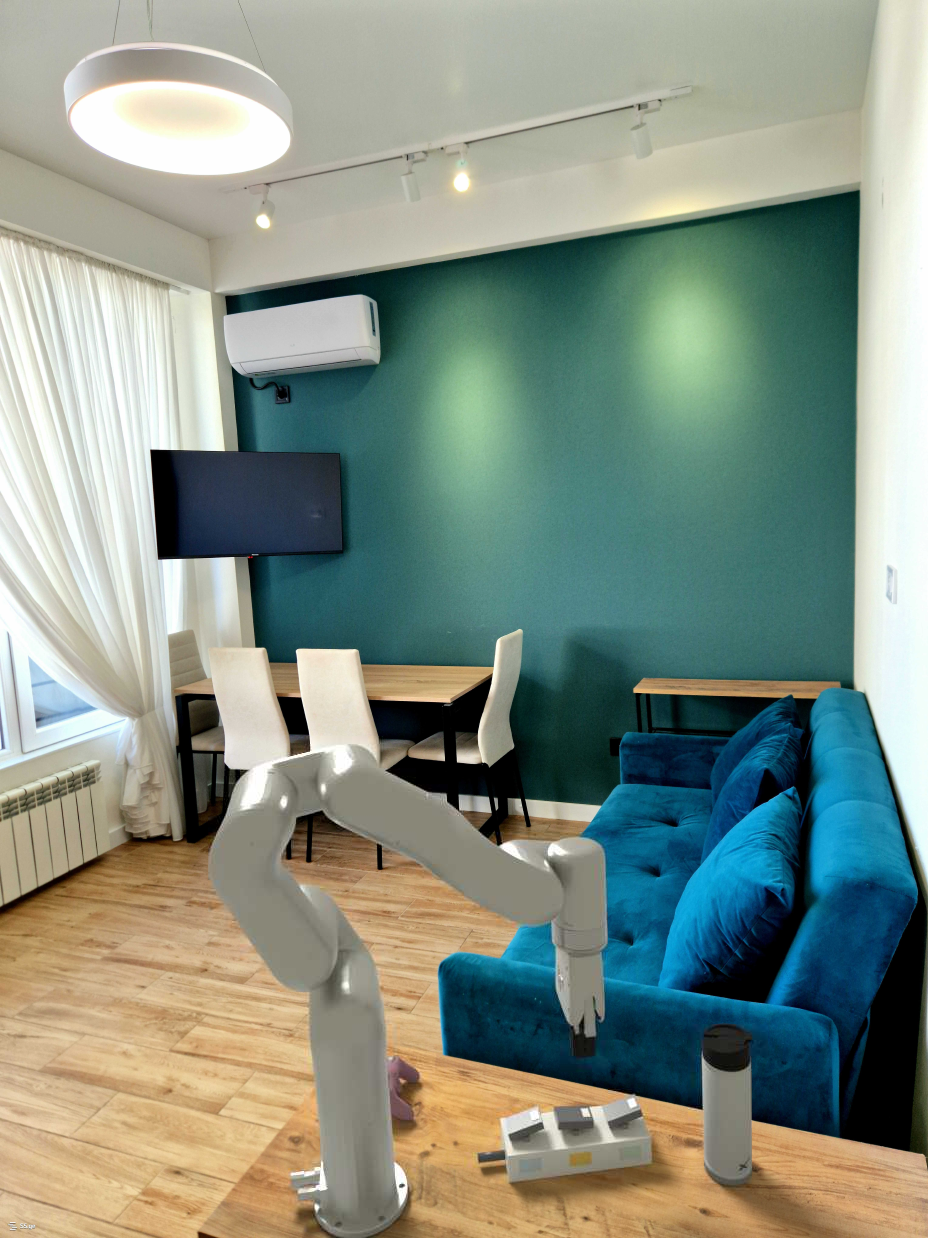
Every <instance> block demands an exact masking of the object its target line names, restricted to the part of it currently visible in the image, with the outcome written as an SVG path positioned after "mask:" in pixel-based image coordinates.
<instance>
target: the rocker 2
mask: <svg viewBox="0 0 928 1238" xmlns="http://www.w3.org/2000/svg"><path fill="white" fill-rule="evenodd" d="M601 1106H602V1109H603V1112H604V1115H605V1118H606V1120H607V1123H608V1126H609V1128H610V1129H611V1128H614V1127H616V1126H619V1125H622V1124H624V1123H627V1122H630V1121H632V1120H635V1119H638V1118H640V1117H644V1115H643V1112H642V1108H641V1106H640V1104H639V1102H638V1099H637V1097H636V1095H635V1093H633V1094H631V1095H627V1096H625V1097H623V1098H620V1099H618V1100H615V1101H611V1102H610V1103H607V1104H604V1106H603V1105H601Z"/></svg>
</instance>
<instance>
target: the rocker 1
mask: <svg viewBox="0 0 928 1238" xmlns="http://www.w3.org/2000/svg"><path fill="white" fill-rule="evenodd" d="M541 1113H542V1112H541V1111H540V1108H539V1105H538V1106H535V1107H531V1108H529V1109H526V1110H524V1111H521V1112H519V1113H516V1114H512V1115H510V1116H508V1117H504V1118H505V1122H506V1127H507V1132H508V1136H509V1139H510V1141H514V1140H517V1139H519V1138H522V1137H524V1136H527V1135H530V1134H532V1133H535V1132H538V1131H540V1130H543V1129H545V1128H544V1124H543V1121H542V1117H541Z"/></svg>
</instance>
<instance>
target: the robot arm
mask: <svg viewBox="0 0 928 1238" xmlns="http://www.w3.org/2000/svg"><path fill="white" fill-rule="evenodd" d="M226 810H227V811H226V813H225V816H224V818H223V820H222V822H221V824H220V827H219V828H218V830H217V832H216V835H215V837H214V838H213V841H212V844H211V847H210V850H209V853H208V854H209V855H208V862H207V864H208V865H207V867H208V868H207V869H208V875H209V880H210V882H211V886H212V887H213V888H212V889H214V892H215V893H216V894H217V897H218V898H219V899H220V901H221V902H222V904H223V905H224V907H225V908H226V910H227V911H229V913H230V914H231V916H232V918H233V919H234V920H235V922H236V923H237V925H238V926H239V928H240V929H241V931H242V933H243V934H244V935H245V936H246V938H247V940H248V941H249V942H250V944H251V945H252V947H253V948H254V949H255V951H256V953H257V954H258V956H259V957H260V958H261V959H262V961H263V962H264V964H265V965H266V967H267V968H268V970H269V971H270V972H271V975H272V976H273V977H274V978H275V979H276V980H277V982H279V983H280V984H281V985H282V986H284V987H285V988H286V989H288V990H290V991H293V992H296V993H308V1031H309V1033H308V1034H309V1035H308V1036H309V1045H310V1053H311V1060H312V1069H313V1078H314V1079H313V1080H314V1088H315V1099H316V1107H317V1109H316V1110H317V1119H318V1129H319V1141H320V1142H319V1143H320V1152H321V1153H320V1154H321V1165H320V1166H315V1167H314V1170H308V1171H307V1170H306V1171H305V1170H301V1171H295V1172H294V1171H293V1172H290V1190H291V1191H292V1190H297V1202H307V1201H309V1200H313V1211H314V1215H315V1218H316V1220H317V1222H318V1224H319V1225H320V1226H321V1227H322V1228H323V1230H325V1231H326V1232H327V1233H329V1234H331V1235H333V1236H335V1237H336V1238H337V1237H338V1238H367V1237H368V1238H369V1237H372V1236H375V1235H377V1234H378V1233H381V1232H383V1231H384V1230H385V1229H387V1228H388V1227H390V1226H391V1225H393V1223H395V1222H396V1220H397V1219H398V1218H399V1217H400V1216H401V1215H402V1213H403V1211H404V1209H405V1208H406V1205H407V1201H408V1197H409V1184H408V1179H407V1176H406V1173H405V1172H404V1170H403V1168H402V1167H401V1166H400V1165H398V1164H397V1162H395V1151H394V1139H393V1138H394V1137H393V1126H392V1124H393V1123H392V1114H391V1108H390V1095H389V1085H388V1071H387V1058H388V1057H387V1027H386V1026H387V1024H386V1017H385V1009H384V1002H383V998H382V997H383V996H382V990H381V985H380V981H379V976H378V975H379V974H378V970H377V966H376V963H375V960H374V957H373V956H372V954H371V953H370V951H369V949H368V948H367V946H366V945H365V943H364V941H363V940H362V939H361V938H360V936H359V934H358V933H357V931H356V930H355V929H354V927H353V925H352V924H351V923H350V922H349V920H348V919H347V916H346V915H345V914H344V912H343V911H342V910H341V908H340V907H339V905H338V904H337V902H336V901H335V900H334V899H333V898H332V896H330V895H329V894H328V892H326V891H325V890H323V889H321V888H319V887H318V886H315V885H311V884H304V883H303V884H300V883H298V881H297V880H296V878H295V877H294V875H293V874H292V873H291V872H290V871H289V869H288V868H286V867H285V866H284V865H283V863H282V855H283V852H284V851H285V849H286V847H287V845H288V844H289V842H290V840H291V838H292V836H293V834H294V832H295V829H296V821H297V818H299V817H302V816H307V815H310V814H315V813H316V812H321V811H322V812H323V813H324V815H325V816H326V817H327V819H329V820H331V821H332V822H334V823H335V824H337V825H338V826H341V827H342V828H345V829H346V830H347V831H350V832H352V833H355V834H357V835H360V836H361V837H363V838H366V839H367V840H370V841H372V842H373V843H374V842H375V843H376V844H378V845H381V846H382V847H385V848H387V849H388V850H391V851H393V852H395V853H396V854H399V855H401V856H403V857H405V858H408V859H409V860H412V861H414V862H416V863H417V864H419V865H420V866H422V867H423V868H424V869H425V870H426V871H428V872H429V873H430V874H432V875H433V876H434V877H436V878H437V879H439V880H440V881H442V882H443V883H445V884H446V885H448V886H449V887H451V888H452V889H453V890H455V891H456V892H458V893H459V894H460V895H462V896H464V897H466V898H467V899H468V900H470V901H471V902H472V903H474V904H476V905H479V906H480V907H482V908H483V909H485V910H488V911H490V912H492V913H494V914H496V915H498V916H499V917H502V918H504V919H507V920H509V921H510V922H513V923H516V924H519V925H521V926H525V927H540V926H545V925H547V924H549V923H551V941H552V944H553V945H554V946H555V991H556V994H557V997H558V1000H559V1003H560V1006H561V1009H562V1011H563V1013H564V1016H565V1019H566V1021H567V1022H568V1024H569V1041H570V1043H569V1044H570V1045H569V1046H570V1051H571V1052H570V1053H572V1057H573V1059H576V1060H577V1059H585V1058H594V1057H595V1056H596V1055H597V1054H596V1053H597V1050H596V1049H597V1047H596V1036H597V1031H596V1019H597V1021H598V1022H599V1024H600V1023H603V1021H604V1020H605V1012H606V1011H605V1009H606V1008H605V985H604V984H605V983H604V969H603V967H604V965H603V960H602V959H603V958H602V950H603V949H605V947H607V944H608V919H607V917H608V916H607V915H608V912H607V878H606V877H607V876H606V875H607V874H606V870H607V869H606V868H607V867H606V854H605V853H606V852H605V851H604V848H603V847H602V845H601V844H600V842H599V843H598V842H597V841H595V840H593V839H591V838H588V837H580V836H573V837H572V836H571V837H566V838H562V839H561V838H560V839H559V840H535V839H533V840H532V839H513V840H508V841H506V842H504V843H502V844H500V845H497V844H496V843H494V842H492V841H491V840H490V839H488V838H487V837H486V836H485V835H483V833H481V832H480V831H479V830H478V829H477V828H475V826H474V825H472V824H471V822H470V821H469V820H468V819H467V818H466V817H465V816H464V815H463V814H462V813H461V812H460V811H459V810H458V809H456V807H454V806H453V805H452V804H450V803H449V802H448V801H446V800H444V799H442V798H441V797H439V796H436V795H434V794H433V793H431V792H428V791H426V790H424V789H422V788H421V787H418V786H416V785H414V784H412V783H410V782H408V781H406V780H404V779H403V778H400V777H398V776H397V775H395V774H392V773H391V772H388V771H386V770H384V769H383V768H380V766H379V763H378V760H377V759H376V757H375V755H374V754H373V753H372V752H371V751H370V750H369V749H367V748H366V747H363V746H361V745H358V744H352V743H343V744H337V745H333V746H327V747H324V748H320V749H316V750H311V751H308V752H305V753H301V754H300V753H299V754H297V755H293V756H288V757H284V758H281V759H277V760H273V761H269V762H266V763H263V764H262V763H261V764H259V765H257V766H255V767H253V768H251V769H249V770H247V771H246V772H245V773H244V774H243V775H242V776H241V777H240V778H239V779H238V780H237V781H236V784H235V785H234V788H233V791H232V793H231V798H230V800H229V804H228V807H227V809H226ZM310 1187H311V1188H310Z"/></svg>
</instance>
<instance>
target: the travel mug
mask: <svg viewBox="0 0 928 1238" xmlns="http://www.w3.org/2000/svg"><path fill="white" fill-rule="evenodd" d="M701 1042H702V1043H701V1049H702V1050H701V1068H702V1069H701V1073H702V1076H701V1079H702V1080H701V1082H702V1119H703V1120H702V1127H703V1128H702V1129H703V1130H702V1133H703V1166H704V1169H705V1171H706V1173H707V1174H708V1175H709V1177H710V1178H711V1179H713V1180H714V1181H715V1182H717V1183H719V1184H722V1185H724V1186H728V1187H740V1186H742V1185H743V1186H744V1185H745V1184H747V1182H749V1181H750V1180H751V1178H752V1175H753V1143H752V1142H753V1135H752V1133H753V1132H752V1131H753V1130H752V1124H753V1123H752V1065H751V1064H752V1060H751V1046H750V1044H751V1045H754V1037H753V1033H752V1031H750V1030H745V1028H743V1027H741V1026H740V1025H736V1024H732V1023H717V1024H713V1025H711V1026H709V1027H708V1028H706V1029H705V1030H704V1032H703V1035H702V1037H701Z"/></svg>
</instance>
